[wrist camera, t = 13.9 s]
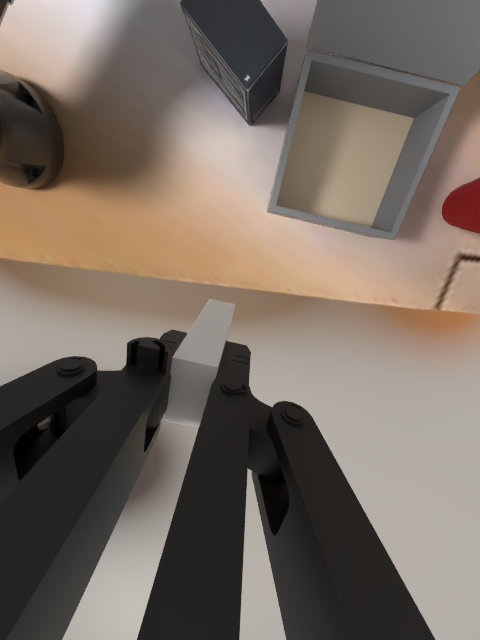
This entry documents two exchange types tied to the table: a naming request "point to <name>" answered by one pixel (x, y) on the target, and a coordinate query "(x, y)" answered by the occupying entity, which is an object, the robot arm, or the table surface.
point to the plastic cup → (464, 207)
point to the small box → (239, 50)
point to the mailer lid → (403, 35)
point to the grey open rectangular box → (357, 144)
